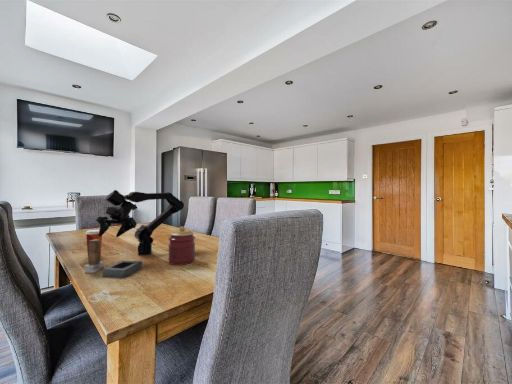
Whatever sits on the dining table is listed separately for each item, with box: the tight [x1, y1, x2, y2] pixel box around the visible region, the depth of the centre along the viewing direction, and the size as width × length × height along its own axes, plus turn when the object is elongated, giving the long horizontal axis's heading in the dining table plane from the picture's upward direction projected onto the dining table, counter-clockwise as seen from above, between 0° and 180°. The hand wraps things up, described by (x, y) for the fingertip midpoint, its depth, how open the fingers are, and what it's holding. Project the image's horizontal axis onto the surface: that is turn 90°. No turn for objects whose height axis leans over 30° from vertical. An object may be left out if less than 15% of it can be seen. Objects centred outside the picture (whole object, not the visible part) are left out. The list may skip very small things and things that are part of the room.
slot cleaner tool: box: [84, 239, 105, 274], centre depth 106 cm, size 6×4×14 cm, turn 172°
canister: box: [168, 225, 196, 266], centre depth 120 cm, size 13×13×18 cm
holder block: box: [101, 260, 143, 278], centre depth 104 cm, size 12×10×3 cm
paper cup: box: [85, 229, 103, 259], centre depth 127 cm, size 8×8×14 cm
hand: (108, 236), depth 114 cm, fingers open, 9 cm apart
